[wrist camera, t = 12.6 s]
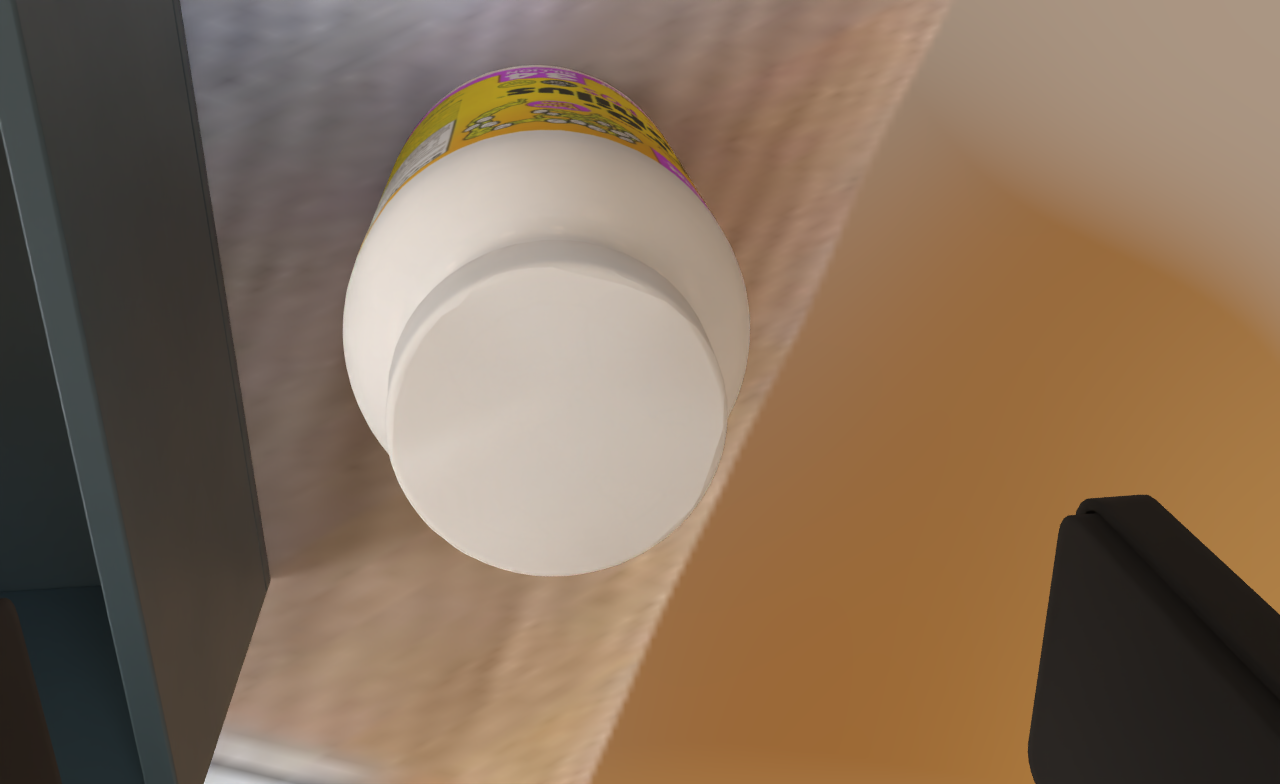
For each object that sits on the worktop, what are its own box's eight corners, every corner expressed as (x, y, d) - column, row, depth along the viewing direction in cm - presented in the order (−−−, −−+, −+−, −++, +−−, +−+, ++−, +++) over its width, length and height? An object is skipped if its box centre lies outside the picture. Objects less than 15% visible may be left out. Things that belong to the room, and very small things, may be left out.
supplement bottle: (735, 178, 28) (902, 386, 17) (564, 388, 30) (606, 715, 18) (504, -7, 26) (508, 81, 14) (333, 230, 28) (210, 483, 16)
